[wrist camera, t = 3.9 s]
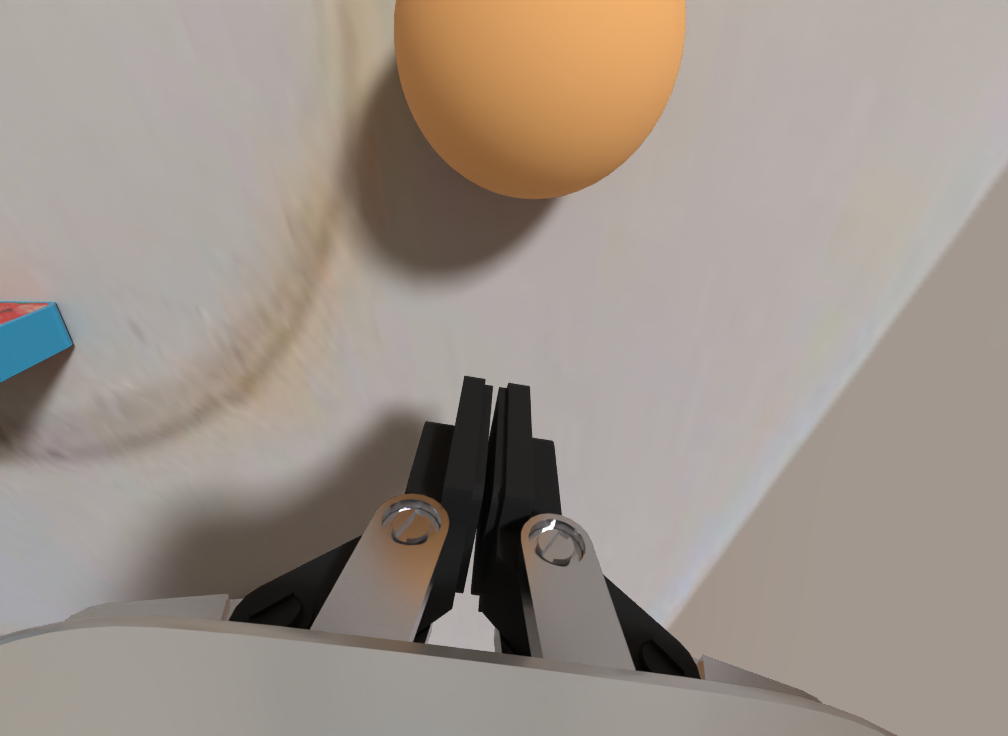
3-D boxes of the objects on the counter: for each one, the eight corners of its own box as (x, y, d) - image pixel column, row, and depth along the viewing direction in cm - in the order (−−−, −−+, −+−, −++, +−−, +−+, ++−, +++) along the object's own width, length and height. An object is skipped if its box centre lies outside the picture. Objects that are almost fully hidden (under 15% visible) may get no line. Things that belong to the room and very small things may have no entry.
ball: (608, 200, 15) (667, 246, 9) (410, 163, 14) (351, 189, 9) (673, -51, 12) (810, -191, 7) (431, -106, 11) (366, -305, 6)
